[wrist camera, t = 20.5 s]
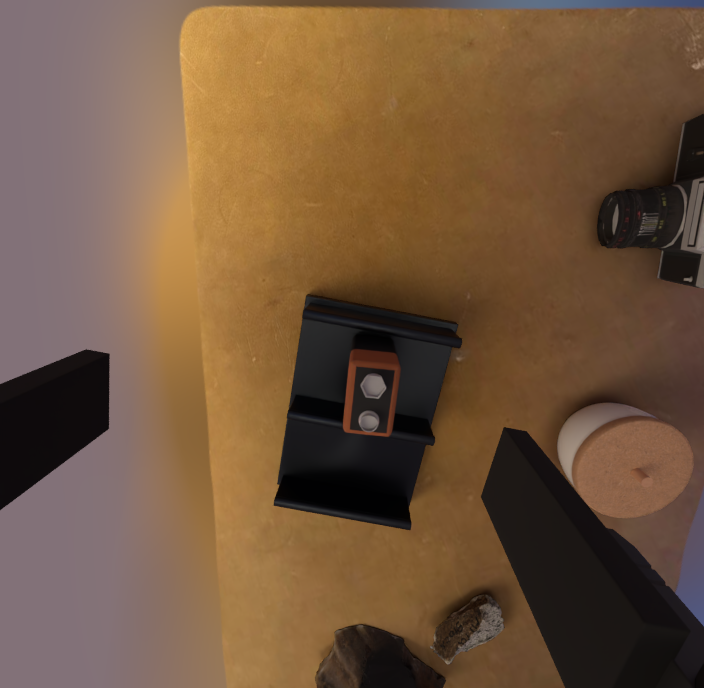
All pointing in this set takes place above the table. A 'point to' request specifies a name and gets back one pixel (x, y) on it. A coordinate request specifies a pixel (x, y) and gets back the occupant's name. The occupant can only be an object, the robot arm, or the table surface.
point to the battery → (371, 386)
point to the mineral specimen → (373, 662)
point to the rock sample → (468, 628)
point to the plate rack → (328, 413)
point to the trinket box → (624, 459)
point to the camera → (665, 214)
